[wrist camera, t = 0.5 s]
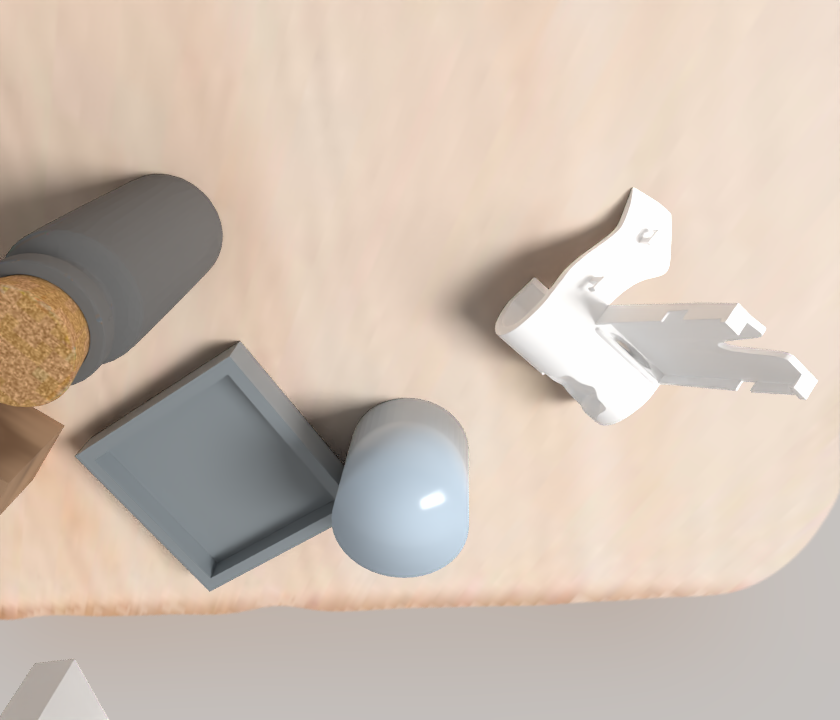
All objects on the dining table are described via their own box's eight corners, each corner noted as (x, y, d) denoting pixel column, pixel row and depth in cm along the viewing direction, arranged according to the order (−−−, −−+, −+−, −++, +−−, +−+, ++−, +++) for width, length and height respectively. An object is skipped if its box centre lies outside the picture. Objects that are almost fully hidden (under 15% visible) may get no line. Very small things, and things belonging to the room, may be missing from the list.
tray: (90, 438, 44) (74, 456, 43) (240, 340, 41) (229, 356, 39) (219, 569, 48) (209, 591, 47) (365, 491, 45) (361, 511, 43)
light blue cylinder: (328, 433, 43) (303, 505, 37) (425, 377, 41) (417, 443, 35) (395, 515, 46) (383, 596, 39) (491, 465, 44) (495, 542, 37)
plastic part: (493, 314, 40) (500, 425, 29) (636, 179, 36) (702, 250, 26) (588, 399, 41) (626, 532, 31) (733, 279, 38) (831, 384, 27)
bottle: (153, 297, 40) (-6, 443, 27) (91, 200, 38) (-116, 305, 25) (244, 257, 39) (125, 389, 25) (186, 153, 37) (21, 238, 23)
